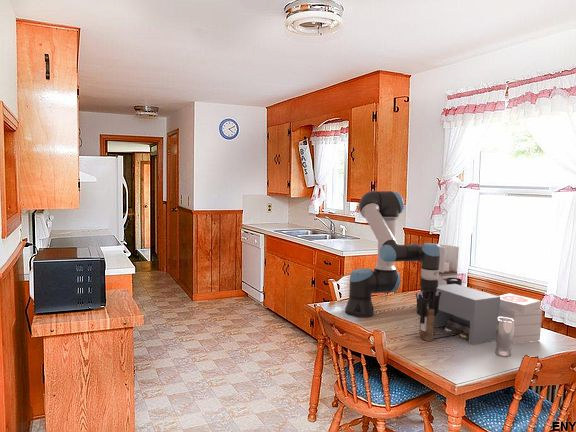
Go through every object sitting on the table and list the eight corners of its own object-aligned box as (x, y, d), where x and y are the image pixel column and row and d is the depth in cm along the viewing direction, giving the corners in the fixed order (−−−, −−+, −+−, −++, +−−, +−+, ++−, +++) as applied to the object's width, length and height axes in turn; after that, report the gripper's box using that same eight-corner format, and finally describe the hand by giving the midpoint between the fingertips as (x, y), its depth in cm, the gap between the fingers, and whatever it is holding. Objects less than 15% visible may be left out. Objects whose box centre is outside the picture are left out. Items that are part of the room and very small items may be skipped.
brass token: (456, 336, 211) (457, 333, 211) (463, 334, 214) (463, 331, 214) (466, 340, 207) (466, 336, 207) (473, 338, 210) (473, 334, 210)
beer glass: (490, 351, 194) (492, 316, 193) (506, 351, 195) (508, 316, 193) (499, 357, 187) (502, 322, 186) (515, 357, 188) (518, 322, 186)
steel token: (442, 330, 220) (442, 327, 219) (449, 329, 222) (449, 325, 222) (450, 333, 215) (450, 330, 215) (457, 332, 218) (457, 329, 218)
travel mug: (457, 314, 245) (459, 277, 244) (461, 319, 238) (463, 281, 236) (442, 313, 246) (445, 277, 244) (446, 318, 239) (448, 280, 237)
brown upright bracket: (409, 333, 213) (411, 303, 212) (448, 326, 224) (450, 298, 223) (438, 346, 197) (440, 314, 196) (479, 338, 209) (481, 308, 207)
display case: (426, 304, 263) (429, 244, 260) (440, 303, 267) (443, 243, 264) (440, 310, 252) (444, 247, 249) (454, 308, 257) (458, 246, 254)
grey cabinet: (429, 326, 224) (431, 286, 222) (452, 322, 231) (455, 283, 229) (472, 344, 201) (475, 300, 199) (497, 339, 208) (500, 296, 206)
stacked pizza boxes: (499, 322, 235) (502, 287, 233) (546, 343, 206) (550, 303, 205) (467, 324, 230) (470, 288, 228) (511, 345, 201) (514, 305, 200)
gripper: (421, 281, 196) (418, 334, 198) (449, 278, 204) (445, 330, 206) (409, 277, 203) (406, 329, 205) (436, 275, 210) (433, 325, 212)
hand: (426, 329), depth 205 cm, fingers closed on brown upright bracket, 3 cm apart
